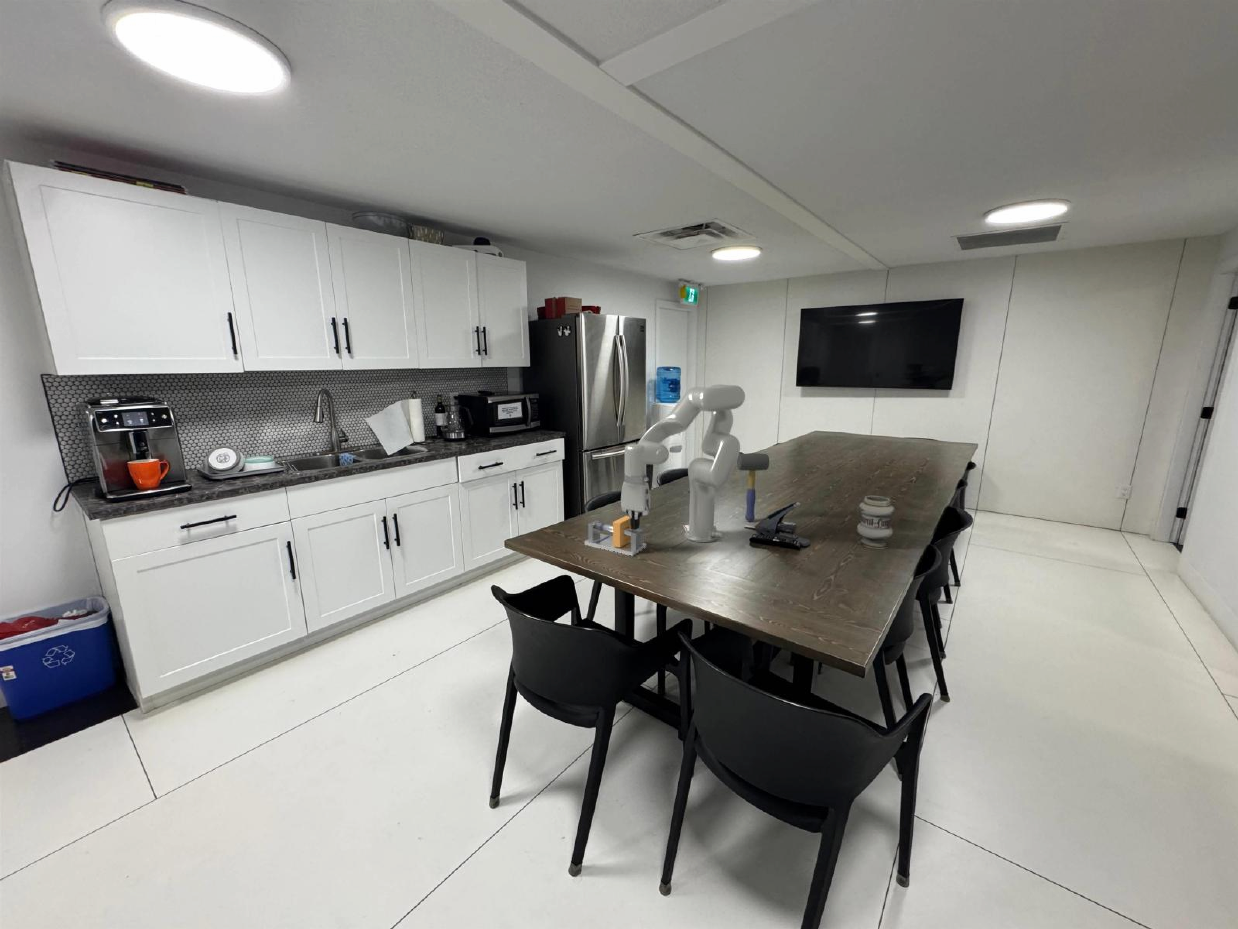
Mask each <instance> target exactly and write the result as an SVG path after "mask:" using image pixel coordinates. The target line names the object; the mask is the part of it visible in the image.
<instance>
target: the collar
mask: <svg viewBox="0 0 1238 929" xmlns="http://www.w3.org/2000/svg"><path fill="white" fill-rule="evenodd" d="M612 526H613V532H612V536H613V546H616V547H622V546H623V545H625V544H627V543H628V542H630V541H631V536H627V535H624V528H626V529H631V526H630V518H629V515H624V516H623V517H620V518H619V519H616V520H614V521H612ZM631 530H634V529H631Z"/></svg>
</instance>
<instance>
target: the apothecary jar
mask: <svg viewBox="0 0 1238 929" xmlns="http://www.w3.org/2000/svg"><path fill="white" fill-rule="evenodd" d="M858 509H859V511H860V512H861V518H860V522H859V523H858V524H857V526H856V531H857V532H858V533H859V535H861V536H862V537H864V538H860V539H859V540H858V544H859V545H862V546H863V547H865V548H869V549H874V550H884V549H887V548H888V546H889V545H888V543H887V542H886V541H883V540H887V539H889V538H890V537H892V536H893V535H894V529H893V528H892V527H891V516H892V515H894V513H895V510H896V508H895V507H894V506H893V505H892V504H891V499H890V498H889V497H886V496H880V495H867V496H864V499H863V501H861V503H859V504H858Z"/></svg>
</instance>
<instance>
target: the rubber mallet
mask: <svg viewBox="0 0 1238 929" xmlns="http://www.w3.org/2000/svg"><path fill="white" fill-rule="evenodd" d="M769 466H770V457H769V455H768V453H757V452H753V453H749V452H748V453H747V452H746V453H739V456H738V459H737V461H736V467H737V469H738V470H739V471H749V472H748V487H747V491H746V498H745V500H746V510H745V512H746V513H745V515H744V516H745V520H747V521H746V522H749V521H752V522H754V520H755V518H756V517H755V505H756V497H757V495H756V489H755V488H756V487H755V486H756V485H755V484H756V471H767V470H768V469H769V468H770V467H769Z"/></svg>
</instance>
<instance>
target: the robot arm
mask: <svg viewBox="0 0 1238 929" xmlns="http://www.w3.org/2000/svg"><path fill="white" fill-rule="evenodd" d="M745 399H746V393H745V391H744V389H743V388H742V387H741V386H739V385H735V384H712V385H710V386H709V387H707V386H706V387H704V386H694V387H690V388H689V389H687V391H686V392H685V393H684V394H683V396H682V397H681V398H680V400H679V401H678V402H677V404H676V405H675V406H674V407H673V408H672V410H671V411H669V413H668V414H667V416H665V417H664V418H662V419H661V420H659V421H658V422H655V424H654V425H652V426H651V427H650V428H649V429H648V430H647V431H645V433H644V434H643V435H642V437H641V438H640V440H639V441H638V442H637V443H631V444H627V445H625V446H624V481H623V482H622V487H621V496H620V505H621V506H620V507H621V511H622V512H624V513H626V514H627V516H629V518H630V526H631V529H633V530H637V529H640V525H641V522H640V519H641V518H642V517H643V516H648V515H649V514H650V511H649V510H650V509H651V493H650V486H649V483H648V482H649V481H650V480H649V477H647V465H653V466H654V465H662V464H664V463H666V462H667V461H668V460H669V456H670V452H669V448H667V446H665V445H664V444H662V442H663V441H664V440H666V439H668V438H669V437H671V436H675V435H677V434H680V433H681V434H682V433H683V432H685V431H686V430H688V429H689V427H690V426H691V424H692V423H693V422H694V420H696V418H697V416H699V415H700V413H701V412H707V413H708V412H709V413H711V417H710V420H709V423H708V426H707V429H706V431H705V434H704V436H703V439H702V442H701V451H702V452H703V453H704V454H705V455H706V456H709V457H713V458H714V459H710V458H707V457H696V458H693V459H692V460H691V462H690V463H689V465H688V467H687V468H688V469H687V474H688V480H689V481H688V482H689V511H688V514H689V515H688V516H689V518H688V519H689V521H688V530H687V531H685V532H684V537H685V538H686V540H689V541H691V542H695V543H711V542H714V541H715V542H716V540H717V539H718V538H722V539H723V537H724V532H723V531H722V530H718V529H717V526H716V525H714V524H715V504H716V503H715V501H716V499H715V498H716V493H715V492H716V491H715V488H723V487H724V486H726V485H727V483H728V482H729V480H730V478H731V476H732V474H733V471H734V468H735V466H736V465H737V459H738V456H739V454H741V452H740V451H741V445H740V444H741V443H740V440H739V439H738V438H737V436H735V435H733V434H730V433H731V430H732V427H733V423H734V415H733V412H732V410H735V409H739V408H741V406H742V405H743V404H744V402H745Z"/></svg>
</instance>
